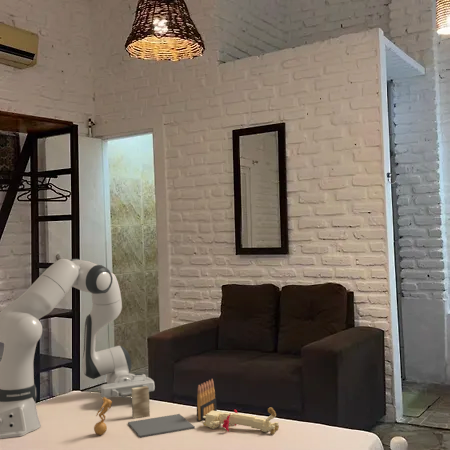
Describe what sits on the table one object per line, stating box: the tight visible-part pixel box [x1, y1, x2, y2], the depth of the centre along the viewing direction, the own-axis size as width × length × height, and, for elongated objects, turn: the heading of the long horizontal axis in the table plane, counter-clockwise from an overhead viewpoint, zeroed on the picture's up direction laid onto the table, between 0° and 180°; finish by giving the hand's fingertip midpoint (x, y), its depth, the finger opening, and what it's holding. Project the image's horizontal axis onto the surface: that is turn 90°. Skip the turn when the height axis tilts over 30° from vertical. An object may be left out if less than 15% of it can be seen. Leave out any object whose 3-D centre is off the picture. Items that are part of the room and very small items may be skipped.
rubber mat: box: [127, 413, 196, 438], centre depth 201 cm, size 18×16×1 cm
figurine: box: [93, 397, 113, 436], centre depth 195 cm, size 8×6×12 cm
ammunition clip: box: [196, 378, 218, 422], centre depth 209 cm, size 11×2×12 cm, turn 152°
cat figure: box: [200, 407, 280, 435], centre depth 194 cm, size 10×9×25 cm
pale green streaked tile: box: [131, 386, 151, 419], centre depth 213 cm, size 6×2×10 cm, turn 112°
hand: (132, 392), depth 224 cm, fingers open, 8 cm apart
